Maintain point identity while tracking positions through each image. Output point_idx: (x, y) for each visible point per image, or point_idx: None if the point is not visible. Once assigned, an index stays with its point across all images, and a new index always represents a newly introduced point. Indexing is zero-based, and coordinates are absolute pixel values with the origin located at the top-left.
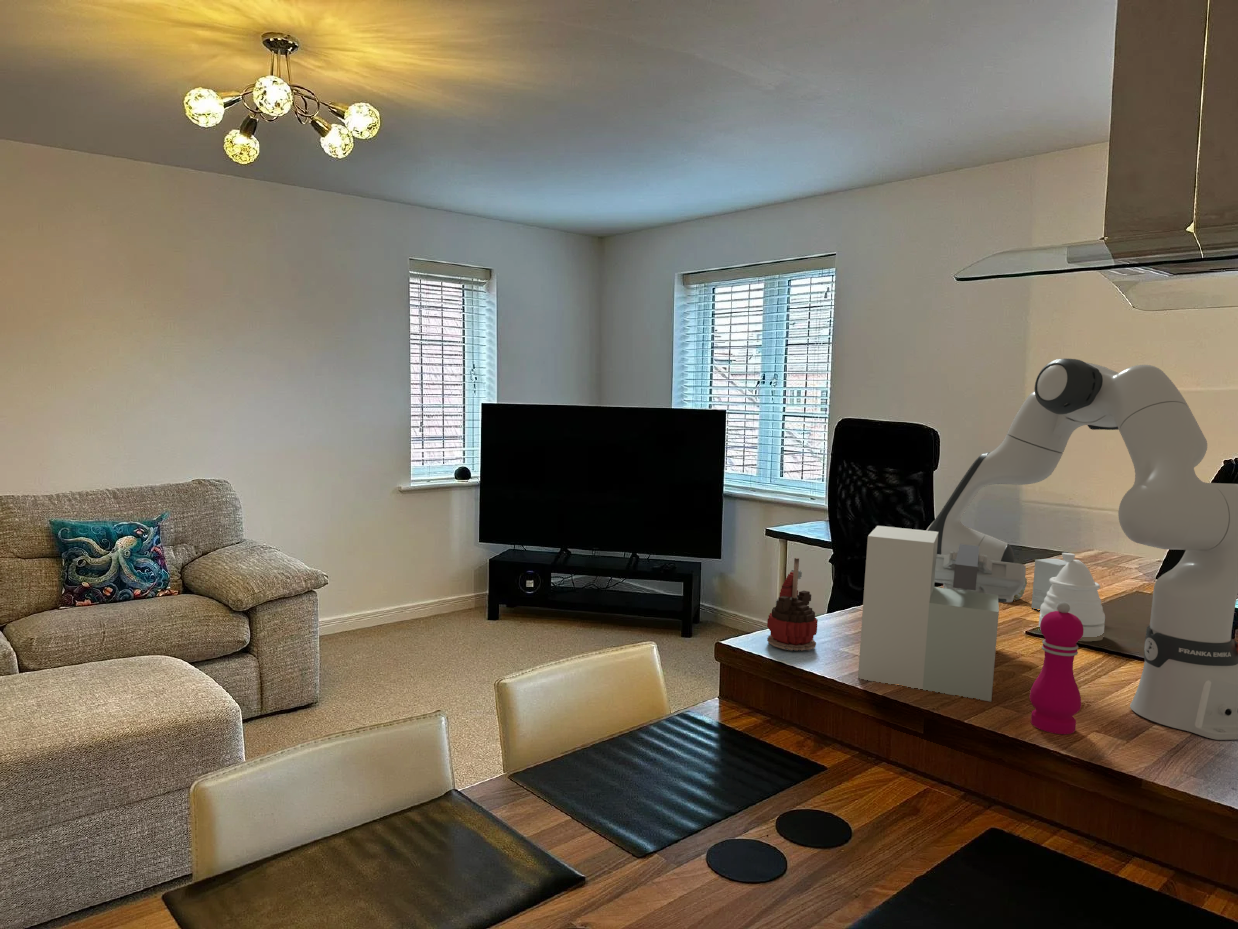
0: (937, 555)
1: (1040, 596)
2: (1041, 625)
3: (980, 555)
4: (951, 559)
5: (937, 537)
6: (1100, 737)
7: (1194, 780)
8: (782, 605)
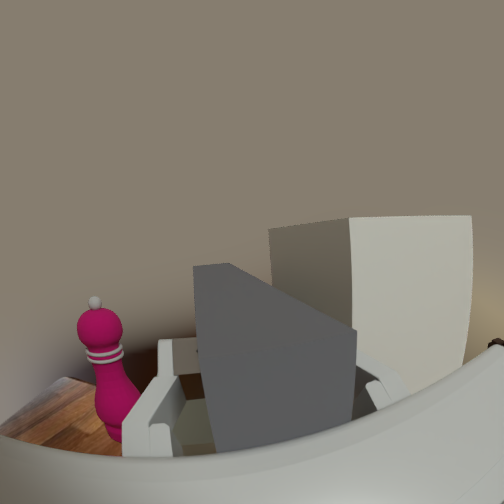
0: (443, 378)
1: None
2: (121, 325)
3: (189, 338)
4: None
5: (327, 234)
6: (90, 425)
7: (60, 390)
8: (488, 347)
